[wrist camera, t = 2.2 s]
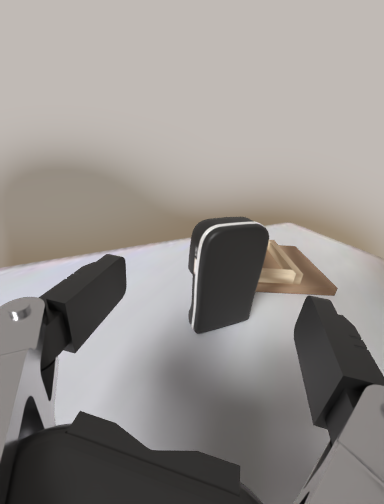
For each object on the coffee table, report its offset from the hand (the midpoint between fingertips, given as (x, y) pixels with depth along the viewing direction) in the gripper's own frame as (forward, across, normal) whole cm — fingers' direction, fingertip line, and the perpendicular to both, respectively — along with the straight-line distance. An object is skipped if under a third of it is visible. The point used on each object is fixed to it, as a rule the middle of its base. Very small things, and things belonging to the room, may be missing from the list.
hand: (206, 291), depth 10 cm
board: (+25, -6, +11) cm, 28 cm away
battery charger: (+12, 0, +12) cm, 16 cm away
